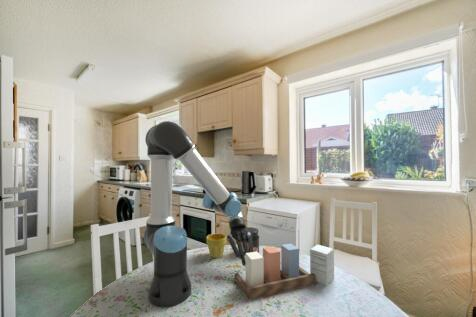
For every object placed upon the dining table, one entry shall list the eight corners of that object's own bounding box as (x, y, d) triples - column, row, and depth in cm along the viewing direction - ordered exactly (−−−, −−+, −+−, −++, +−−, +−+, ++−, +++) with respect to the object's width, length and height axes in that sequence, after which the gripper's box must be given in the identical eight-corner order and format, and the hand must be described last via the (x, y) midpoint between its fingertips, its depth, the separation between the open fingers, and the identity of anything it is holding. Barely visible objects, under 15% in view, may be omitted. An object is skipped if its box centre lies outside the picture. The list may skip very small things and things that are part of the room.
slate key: (288, 279, 90) (288, 250, 90) (281, 272, 95) (281, 244, 95) (299, 277, 91) (299, 248, 92) (291, 270, 97) (291, 243, 97)
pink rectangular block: (269, 283, 87) (269, 253, 87) (262, 275, 92) (262, 247, 92) (280, 281, 88) (280, 251, 88) (273, 273, 94) (273, 246, 94)
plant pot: (202, 256, 112) (202, 237, 112) (215, 249, 120) (215, 232, 120) (217, 261, 106) (217, 241, 106) (230, 254, 114) (230, 235, 114)
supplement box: (317, 272, 96) (317, 243, 96) (334, 279, 90) (334, 248, 91) (309, 279, 91) (309, 248, 91) (327, 286, 85) (327, 254, 85)
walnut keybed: (248, 300, 76) (248, 289, 76) (234, 279, 90) (234, 269, 90) (315, 284, 86) (315, 274, 86) (294, 267, 100) (294, 259, 100)
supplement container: (242, 257, 111) (242, 233, 111) (237, 249, 121) (237, 227, 121) (262, 255, 113) (262, 232, 114) (255, 247, 124) (255, 226, 124)
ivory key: (251, 291, 81) (251, 259, 81) (245, 283, 87) (245, 253, 87) (263, 289, 83) (263, 257, 83) (256, 281, 88) (256, 251, 88)
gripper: (246, 224, 110) (260, 273, 94) (221, 226, 105) (232, 279, 90) (250, 216, 105) (266, 267, 89) (224, 218, 100) (236, 272, 85)
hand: (249, 273), depth 89 cm, fingers closed
